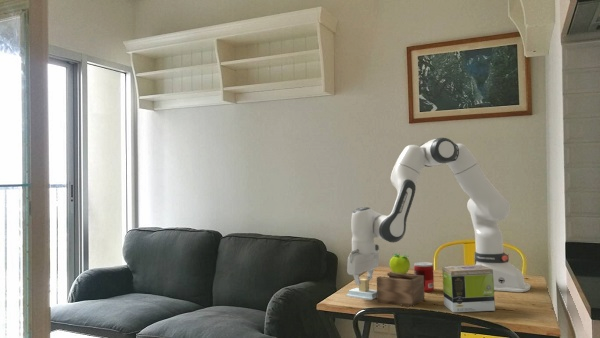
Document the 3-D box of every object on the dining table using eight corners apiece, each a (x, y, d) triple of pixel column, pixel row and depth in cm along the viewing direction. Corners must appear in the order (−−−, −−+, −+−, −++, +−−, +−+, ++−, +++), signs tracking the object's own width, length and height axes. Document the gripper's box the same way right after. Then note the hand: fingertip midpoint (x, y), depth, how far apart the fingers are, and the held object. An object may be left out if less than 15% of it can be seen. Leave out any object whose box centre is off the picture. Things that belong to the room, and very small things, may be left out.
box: (424, 299, 188) (423, 275, 188) (411, 306, 178) (411, 281, 178) (391, 295, 196) (390, 272, 196) (377, 301, 186) (376, 277, 186)
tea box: (483, 304, 179) (482, 263, 179) (495, 311, 169) (494, 269, 169) (443, 305, 179) (441, 265, 179) (452, 313, 168) (451, 270, 169)
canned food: (434, 288, 206) (433, 262, 206) (433, 292, 198) (433, 265, 199) (415, 287, 208) (414, 261, 208) (414, 291, 200) (413, 265, 201)
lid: (383, 296, 196) (382, 279, 196) (371, 301, 189) (370, 283, 189) (357, 292, 204) (357, 275, 204) (345, 297, 197) (345, 279, 197)
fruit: (398, 272, 242) (397, 251, 242) (413, 274, 235) (412, 253, 235) (386, 274, 236) (385, 254, 236) (401, 277, 229) (400, 256, 229)
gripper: (356, 252, 186) (358, 288, 186) (381, 245, 203) (382, 278, 203) (342, 251, 190) (343, 286, 190) (367, 244, 207) (368, 277, 206)
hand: (363, 282), depth 196 cm, fingers open, 8 cm apart
